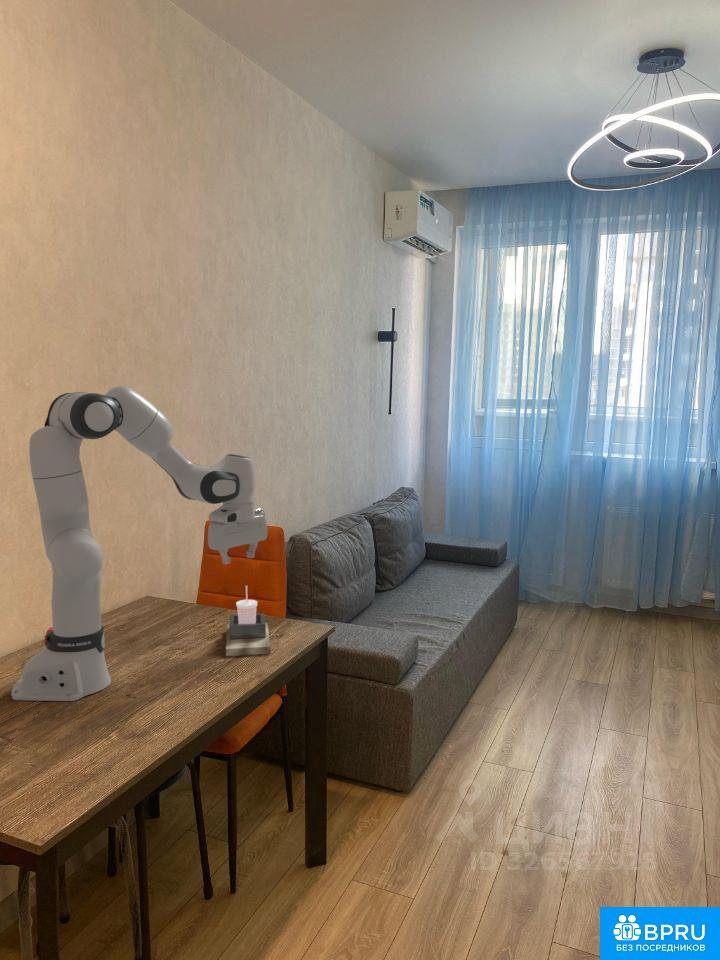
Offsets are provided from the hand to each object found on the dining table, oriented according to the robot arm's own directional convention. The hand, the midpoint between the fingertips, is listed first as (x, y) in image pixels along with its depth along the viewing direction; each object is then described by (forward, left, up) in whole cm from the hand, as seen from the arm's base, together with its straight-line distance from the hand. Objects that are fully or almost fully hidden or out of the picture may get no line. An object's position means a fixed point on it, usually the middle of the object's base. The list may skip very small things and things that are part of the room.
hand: (238, 560), depth 211 cm
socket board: (+2, -1, -24) cm, 24 cm away
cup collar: (+2, +1, -22) cm, 22 cm away
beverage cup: (+2, +1, -22) cm, 22 cm away
